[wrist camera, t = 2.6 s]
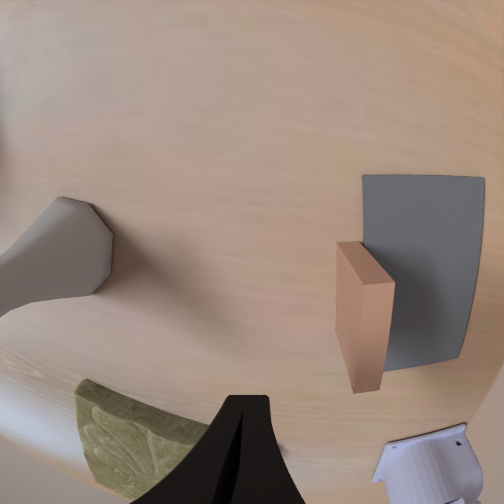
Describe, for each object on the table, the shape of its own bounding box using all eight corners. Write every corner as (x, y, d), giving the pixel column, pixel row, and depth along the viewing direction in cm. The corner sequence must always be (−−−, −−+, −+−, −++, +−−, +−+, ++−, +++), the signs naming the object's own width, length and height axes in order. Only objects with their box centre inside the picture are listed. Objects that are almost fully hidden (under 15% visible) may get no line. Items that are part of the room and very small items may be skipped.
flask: (98, 308, 21) (19, 386, 12) (35, 259, 20) (-53, 309, 11) (130, 229, 19) (26, 289, 9) (56, 179, 18) (-53, 205, 9)
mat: (481, 177, 16) (484, 177, 15) (456, 355, 20) (458, 357, 19) (362, 175, 17) (364, 175, 16) (354, 372, 21) (355, 375, 20)
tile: (361, 241, 18) (398, 281, 12) (357, 326, 20) (382, 389, 13) (336, 242, 18) (363, 284, 12) (335, 328, 20) (353, 393, 14)
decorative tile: (98, 466, 30) (89, 484, 27) (84, 372, 24) (65, 395, 21) (227, 509, 30) (223, 529, 27) (274, 436, 24) (272, 466, 21)
